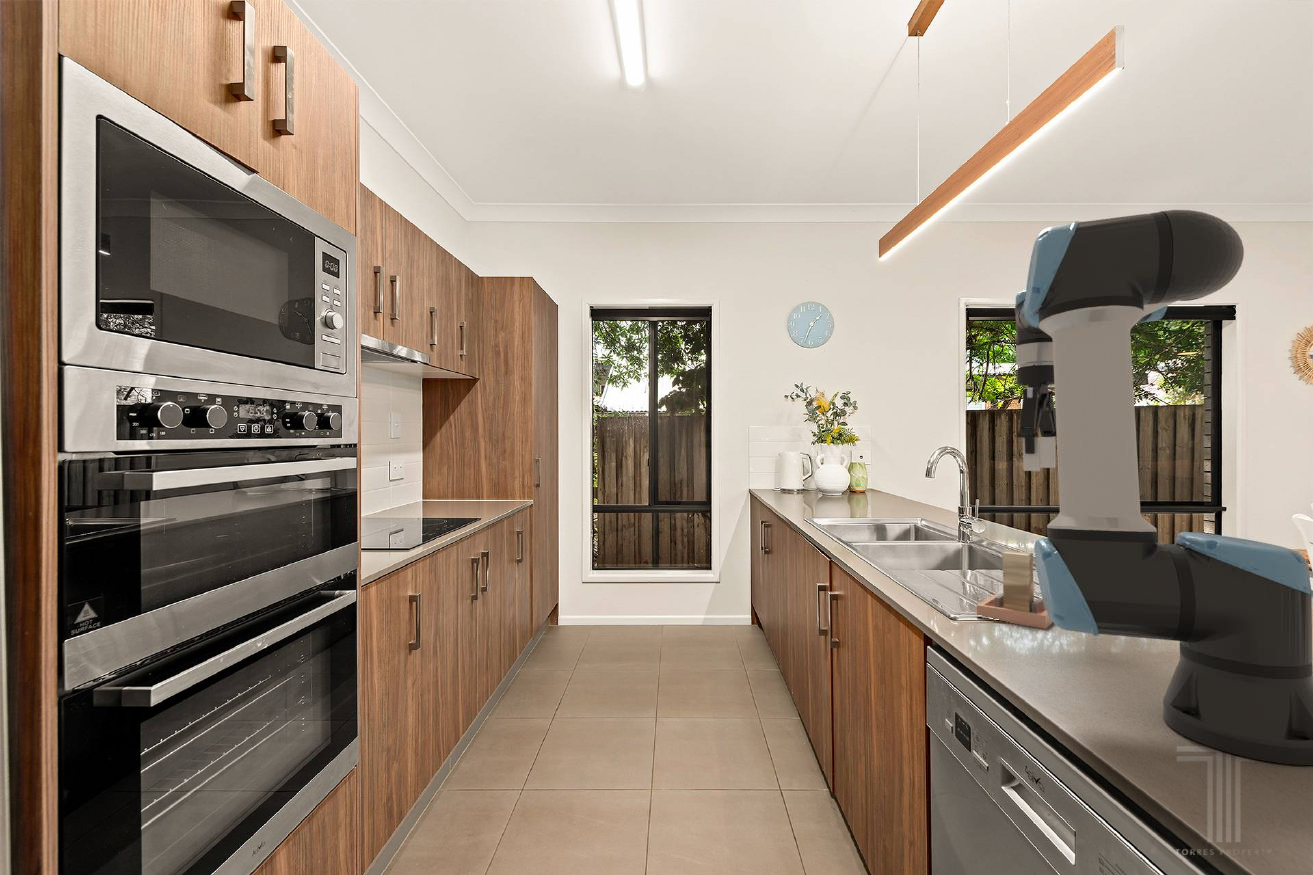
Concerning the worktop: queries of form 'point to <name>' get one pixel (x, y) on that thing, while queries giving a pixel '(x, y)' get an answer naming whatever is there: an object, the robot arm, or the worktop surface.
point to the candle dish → (1015, 612)
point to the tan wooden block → (1018, 580)
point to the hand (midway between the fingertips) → (1040, 469)
